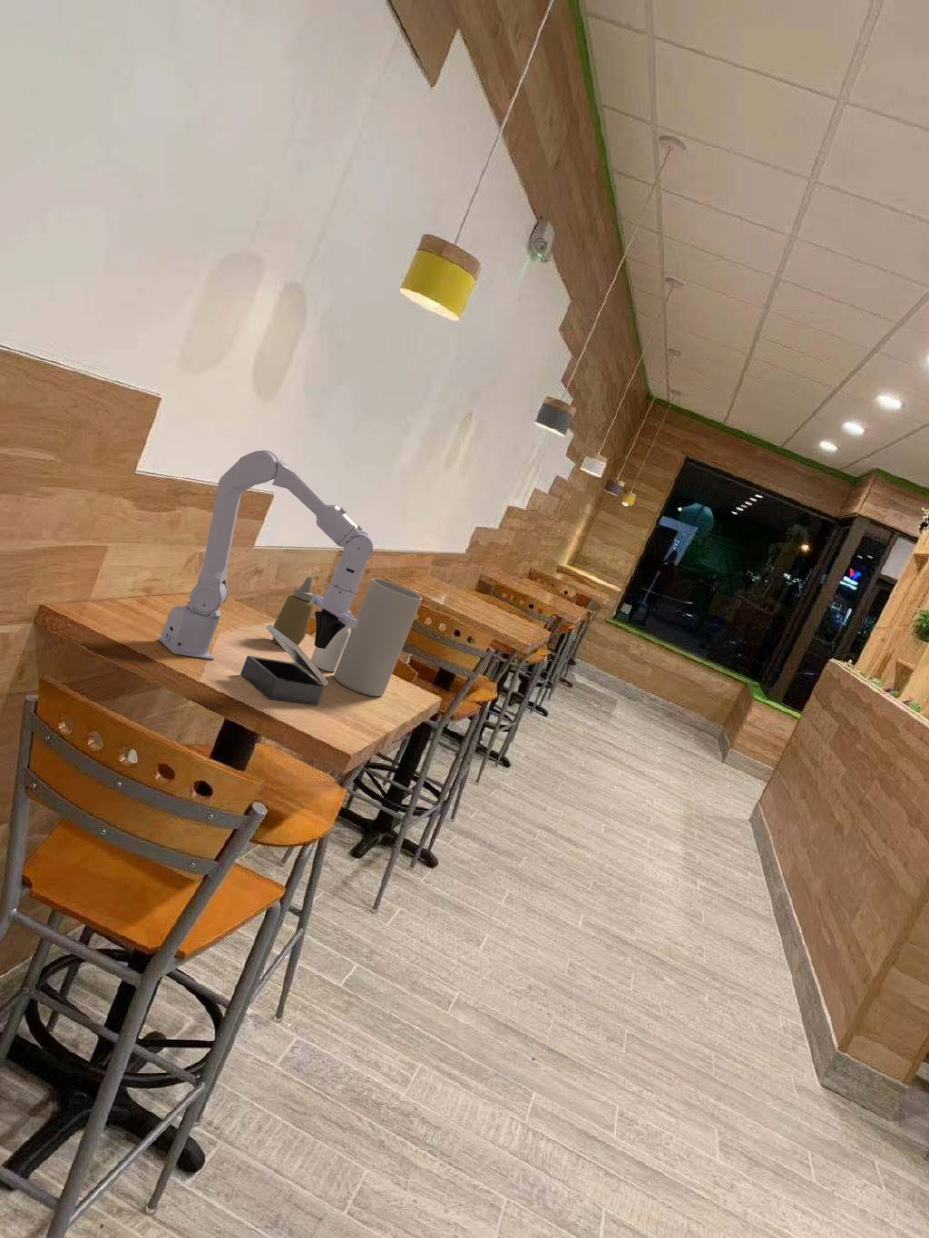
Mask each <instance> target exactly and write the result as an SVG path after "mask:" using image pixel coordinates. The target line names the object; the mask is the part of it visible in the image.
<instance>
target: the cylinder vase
mask: <svg viewBox="0 0 929 1238" xmlns="http://www.w3.org/2000/svg"><path fill="white" fill-rule="evenodd" d="M422 601H423V597H422V596H421V595H420V594H418V593H416V592H414V591H412V590H410V589H408V588H406V587H404V586H401V585H398V584H396V583H393V582H391V581H387V580H385V579H381V578H376V577H374V578H372V579H371V580H370V583H369V586H368V589H367V591H366V594H365V597H364V599H363V601H362V603H361V606H360V609H359V611H358V614H357V617H356V619H357V620H358V623H357V625H356V628H355V629H352V628H351V633H350V635H349V638H348V641H347V643H346V646H345V648H344V651H343V653H342V656H341V658H340V661H339V663H338V666H337V668H336V670H335V671H334V678H335V680H336V681H337V682H338V683H339V684H340V685H342V686H344V687H345V688H348V689H349V690H352V691H353V692H355V693H359V694H361V695H365V696H370V697H382V696H383V695H384V694H385V692H386V690H387V687H388V684H389V682H390V679H391V677H392V675H393V673H394V670H395V667H396V665H397V662H398V659H399V657H400V655H401V653H402V650H403V647H404V645H405V643H406V641H407V639H408V636H409V633H410V631H411V628H412V626H413V624H414V620H415V618H416V616H417V613H418V610H419V609H420V606H421V603H422Z"/></svg>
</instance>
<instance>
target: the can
mask: <svg viewBox="0 0 929 1238" xmlns="http://www.w3.org/2000/svg"><path fill="white" fill-rule="evenodd" d="M351 631H352V628H348V627H346V626H345V627H344V628H342V629H341V630H340V631H339V632H338V633H337V634H336V635H335V636H334V637H333V638H332V640H331V641H330V642H329V644H328V645H327V647H326V648H325V649H322V648H317V647H316V646H315V647H314V651H313V653H312V656H311V658H310V660H311V662H312V663H313V664H314V665H315V666H316V668H317V669H318V670H321V671H325V672H327V673H335V671H336V669H337V666H338V664H339V661H340V659H341V656H342V654H343V651H344V649H345V646H346V644H347V641H348V639H349V636H350V634H351Z"/></svg>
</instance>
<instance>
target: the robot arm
mask: <svg viewBox="0 0 929 1238" xmlns="http://www.w3.org/2000/svg"><path fill="white" fill-rule="evenodd" d="M272 480H273V482H272V483H271V485H272V486H274V487H275V486H276V487H280V488H283V489H287V490H288V491H289V492H290V493H291V494H292V495H293V496H294V497H296V498H297V499H298V500H299V501H300V503H302V504H303V505H304V506H305V507H306V508H307V509H309V510H310V512H312V513H313V514H314V515H315V516H316V517H315V518H316V519H315V520H316V521H315V522H316V526H317V527H318V528H319V529H320V530H321V531H322V532H323V533H324V534H325V535H326V536H327V537H328V538H329V539H330V540H332V542H333V543H334V544H335V545H336V546H337V547H340V548H341V547H342V548H343V553H342V555H341V558H340V560H339V561H338V562H337V564H336V566H335V569H334V572H333V574H332V577H331V579H330V582H329V584H328V587H327V590H326V591H325V595H324V597H323V596H322V595H320V594H316V593H315V594H314V593H312V594H313V596H312V599H311V601H310V602H311V603H312V604H313V605H315V606H317V607H318V608H320V609H321V610H320V611H319V610H316V611H315V613H314V616H315V617H314V618H315V625H316V626H315V628H316V629H315V637H314V638H315V639H314V645H313V646H315V647H317V648H322V649H325V648H326V647H327V645H328V644H329V642H330V641H331V640H332V638H333V637H334V636H335V635H336V634H337V633H338V632H339V631H340V630H341V629H342V628H344V627H345V626H346V627H348V628H351V630H352V629H355V628H356V625H357V623H358V620H357V618H355V616H354V615H353V614H352V611H351V610H350V608H351V605H352V603H353V602H354V599H355V596H356V593H357V591H358V589H359V586H360V583H361V582H362V578H363V576H364V570H365V569H366V567H367V562H368V561H369V560H370V559H371V558H372V557H373V552H374V551H373V549H374V544H373V541H372V539H371V537H370V536H369V534H368V533H367V532H365V531H364V530H363V529H364V528H363V527H362V526H361V525H357V524H356V522H354V521H353V520H352V519H351V518H350V517H349V516H348V515H347V514H346V513H347V510H346V509H345V508H344V507H343V506H342V507H339V506H338V505H336V504H328V503H326V502H325V501H324V500H323V499H322V498H321V496H319V494H317V493H316V492H315V491H314V490H313V489H312V488H311V486H310V485H309V484H308V483H307V482H306V481H305V480H304V479H303V478H302V477H301V476H300V474H298V473H297V472H296V471H295V470H294V468H292V467H290V465H288V464H287V463H285V461H283V460H282V459H280V460H279V458H278V456H277V455H275V453H273V452H272V451H269V450H255V451H252V452H249V453H247V454H245V455H243V456H240V458H239V459H238V460H237V461H236V462H235V463H234V464H233V465H232V466H231V467H230V468H229V469H228V470H227V471H226V472H225V473H223V474H222V476H220V478H219V480H218V485H217V491H216V496H215V501H214V505H213V511H212V517H211V521H210V527H209V532H208V537H207V543H206V546H205V547H206V548H205V554H204V558H203V559H204V560H203V564H202V567H201V569H200V572H199V574H198V578H197V582H196V585H195V586H194V588H192V590H191V592H190V594H189V601H188V602H187V603H186V605H183V606H178V605H177V606H174V607H172V609H171V610H170V611H169V614H168V615H167V618H166V621H165V624H164V627H163V628H162V629H163V630H162V631H161V632H162V633H161V635H160V636H158V638H157V639H158V640H159V642H161V643H162V644H163V645H164V646H165V647H166V648H167V649H168V650H169V651H170V652H172V654H174V655H175V654H176V655H181V656H187V657H188V656H189V657H195V658H199V659H206V660H215V656H213V655H212V654H211V653H210V652H209V649H210V646H211V645H212V642H213V638H214V635H215V633H216V631H217V628H218V625H219V622H220V619H221V616H222V612H221V610H220V607H221V606H222V605H223V604H224V603H225V602H226V600H227V599H228V597H229V589H228V588H229V587H228V584H227V578H228V565H229V561H230V557H231V556H230V555H231V549H232V544H233V540H234V534H235V529H236V524H237V519H238V513H239V509H240V503H241V498H242V494H243V493H244V492H246V491H247V490H249V489H250V488H252V487H254V486H257V485H261V484H265V483H268V482H270V481H272Z"/></svg>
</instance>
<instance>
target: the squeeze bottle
mask: <svg viewBox="0 0 929 1238" xmlns="http://www.w3.org/2000/svg"><path fill="white" fill-rule="evenodd" d="M312 582H313V578H312V577H310V576H307V578H306V579H305V580H304V582H303V583H302V585H301V586H300V587H296V588H295V589H294V591H293V594H291V595H288V596H287V599H286V600H285V602H284V604H283V606H282V608H281V610H280V612H279V614H278V615H277V618H276V620H275V621H274V624H273V627H274V628H277V629H278V630H279V631H281V632H282V633H283V634H285V635H286V636H287V637H288V638H290V639H291V640H292V641H294V642H295V643H296V644H297V645H298V646H299V645H300V644H301V643H302V641H303V640H304V639H305V637H306V633H307V630H308V626H309V624H310V623H309V622H310V618H311V615H312V612H313V609H314V608H313V607H314V604H312V603H311V602H310V601H311V599H312V596H313V594H314V593H312V592H311V587H312ZM272 642H273V643H275V644H276V645H278V646H280V647H282V646H281V645H280V644H279V642H278V641H277V640H276V639H275V638H274V636H273V635H272Z"/></svg>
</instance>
